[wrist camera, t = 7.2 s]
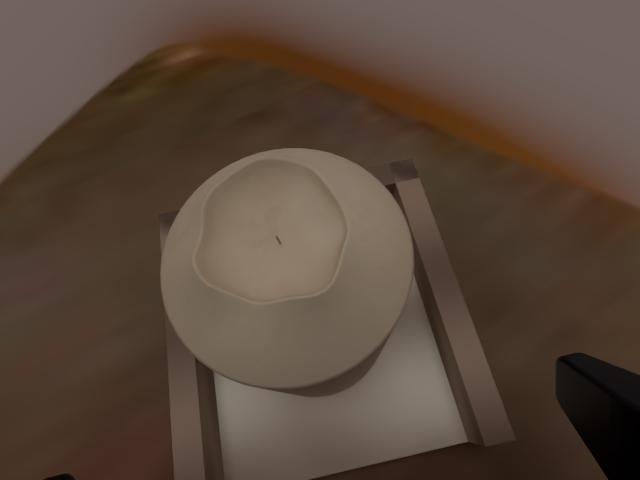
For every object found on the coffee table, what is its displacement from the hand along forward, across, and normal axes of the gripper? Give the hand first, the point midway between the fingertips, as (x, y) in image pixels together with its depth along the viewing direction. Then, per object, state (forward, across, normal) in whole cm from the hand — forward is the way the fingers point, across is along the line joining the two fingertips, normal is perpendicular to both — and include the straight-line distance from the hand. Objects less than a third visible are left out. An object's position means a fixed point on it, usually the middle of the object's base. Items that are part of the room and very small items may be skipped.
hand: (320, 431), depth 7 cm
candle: (+9, 0, +3) cm, 9 cm away
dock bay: (+10, 0, +4) cm, 10 cm away
